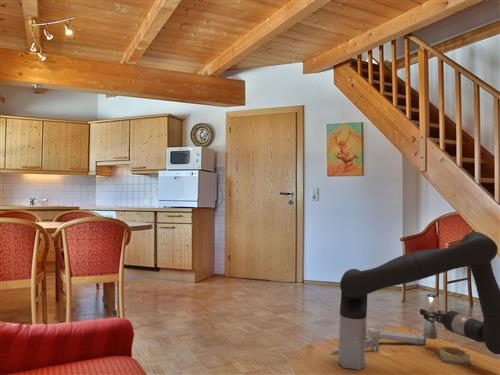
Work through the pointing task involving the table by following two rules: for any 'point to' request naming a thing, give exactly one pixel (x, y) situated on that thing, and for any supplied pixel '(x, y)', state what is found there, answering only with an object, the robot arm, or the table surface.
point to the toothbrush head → (396, 336)
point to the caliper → (368, 343)
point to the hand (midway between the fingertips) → (426, 311)
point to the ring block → (454, 355)
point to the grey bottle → (431, 306)
